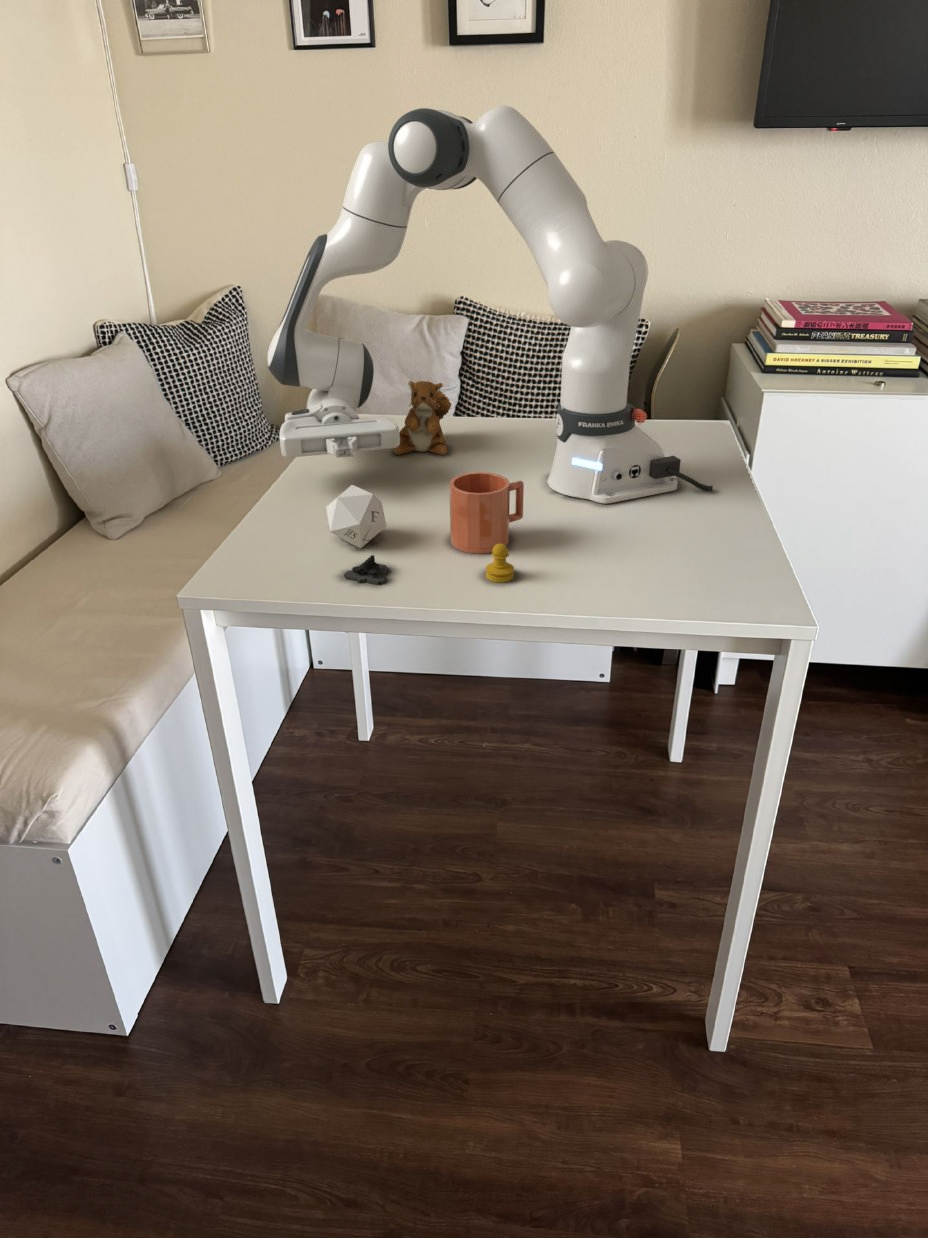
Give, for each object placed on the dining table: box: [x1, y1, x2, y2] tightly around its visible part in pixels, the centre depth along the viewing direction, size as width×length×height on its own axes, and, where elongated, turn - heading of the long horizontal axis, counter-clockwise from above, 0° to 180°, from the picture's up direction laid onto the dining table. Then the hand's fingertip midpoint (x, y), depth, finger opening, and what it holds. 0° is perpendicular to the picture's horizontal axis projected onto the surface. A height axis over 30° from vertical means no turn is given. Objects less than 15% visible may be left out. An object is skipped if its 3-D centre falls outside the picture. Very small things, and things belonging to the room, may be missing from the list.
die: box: [325, 484, 387, 550], centre depth 136 cm, size 8×9×10 cm
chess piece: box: [485, 544, 515, 583], centre depth 126 cm, size 4×4×5 cm
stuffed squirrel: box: [393, 380, 452, 456], centre depth 172 cm, size 10×14×13 cm
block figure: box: [343, 554, 390, 586], centre depth 128 cm, size 6×2×6 cm
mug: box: [449, 471, 525, 555], centre depth 136 cm, size 12×9×10 cm
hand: (344, 452), depth 146 cm, fingers closed
